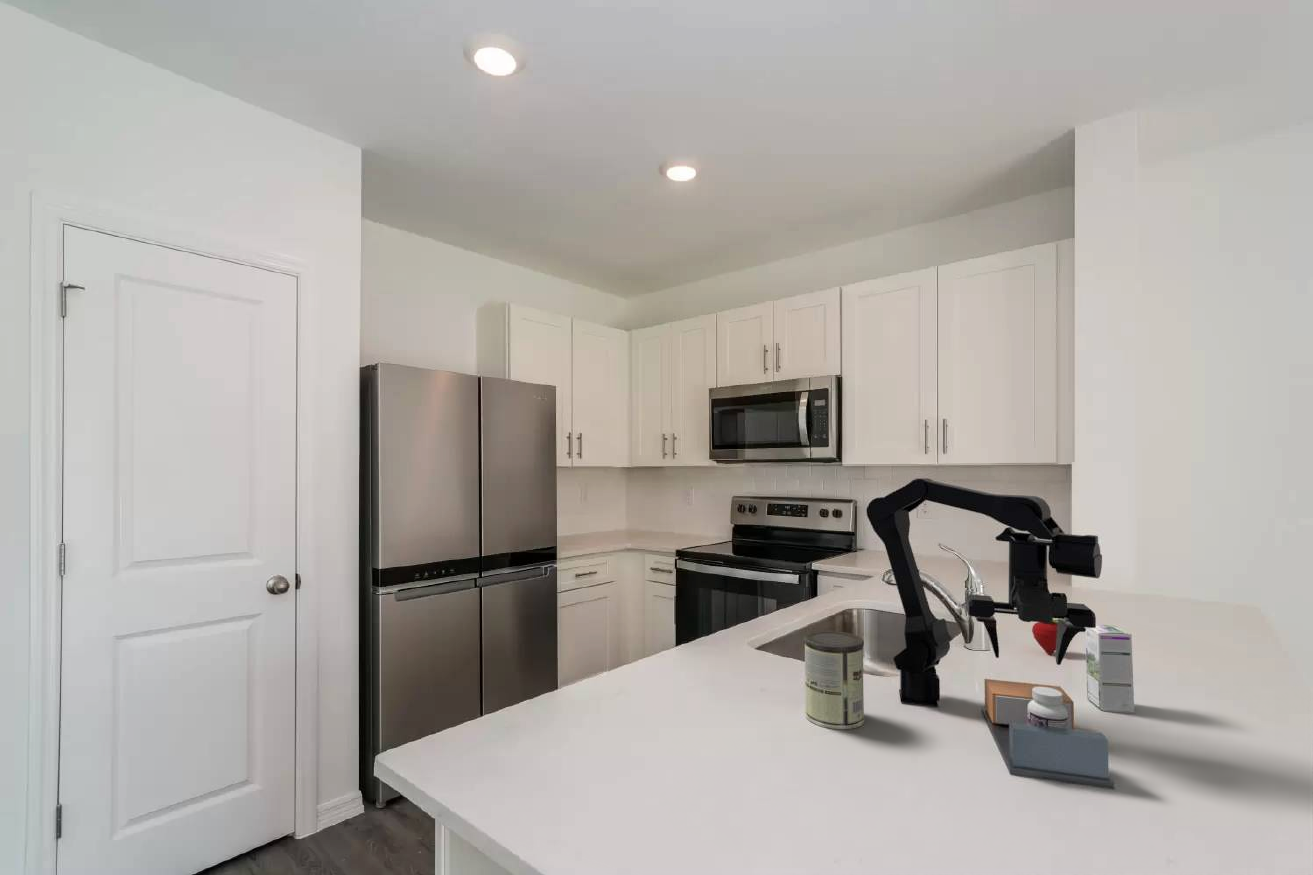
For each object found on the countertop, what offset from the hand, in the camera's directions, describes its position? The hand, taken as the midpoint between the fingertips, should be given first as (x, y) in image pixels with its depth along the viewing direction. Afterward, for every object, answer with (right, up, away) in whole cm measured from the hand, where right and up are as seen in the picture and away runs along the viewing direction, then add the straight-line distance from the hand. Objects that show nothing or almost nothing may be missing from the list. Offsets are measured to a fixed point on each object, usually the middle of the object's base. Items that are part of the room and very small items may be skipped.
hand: (1027, 660), depth 109 cm
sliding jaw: (0, -10, +1) cm, 10 cm away
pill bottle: (-4, -11, -12) cm, 16 cm away
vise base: (-2, -11, -7) cm, 13 cm away
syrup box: (+21, -12, +10) cm, 27 cm away
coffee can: (-32, -12, +4) cm, 34 cm away
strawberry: (+30, -13, +42) cm, 53 cm away
